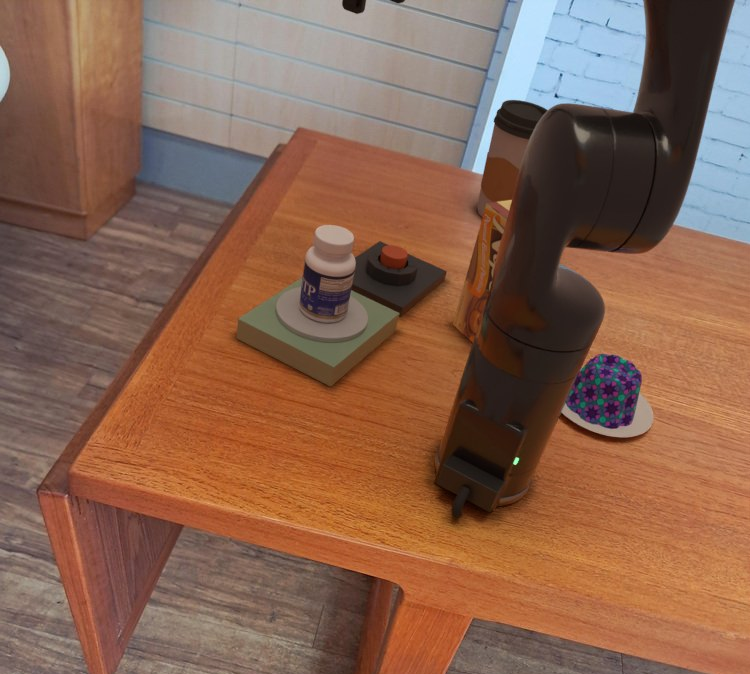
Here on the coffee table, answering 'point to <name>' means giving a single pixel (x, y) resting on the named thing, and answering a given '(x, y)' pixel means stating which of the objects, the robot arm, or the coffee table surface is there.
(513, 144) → the coffee cup
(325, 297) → the pill bottle
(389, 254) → the button
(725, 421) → the coffee table surface
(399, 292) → the block
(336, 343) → the scale
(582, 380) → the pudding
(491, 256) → the candy box
